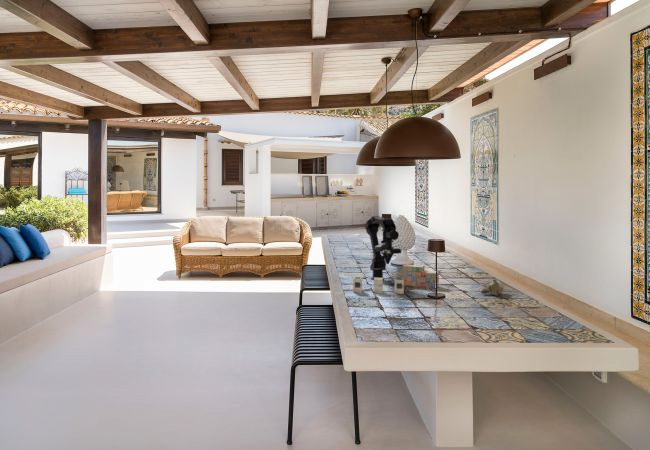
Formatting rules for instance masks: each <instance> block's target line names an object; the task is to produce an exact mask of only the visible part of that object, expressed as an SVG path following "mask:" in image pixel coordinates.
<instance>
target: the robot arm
mask: <svg viewBox="0 0 650 450" xmlns="http://www.w3.org/2000/svg"><path fill="white" fill-rule="evenodd" d="M380 227H381V228H382V229H381V232H382V240H380V243H379V239H378V232H379V228H380ZM364 228H365V230H366V234H368V236H369V238H370V243H371V248H372V249H371V250H372V255H373V257H372V259H371V264H370V266H369V267H370V271H372V277H371V278H370V279H371V280H373V281H374V278H383V280H385V278H384V277H383V276H384V273H383V272H384V271H385V270H386V266H387V265H389V264H390V261H391V259H392V258H393V256H394V255H396V254H402V249H401V248H399V247H398V248H397V247H396V248H395V247H394V246H393V243H394V241H396V240H398V238H399V236H400V235H399V233H398V231H397V226H396V224H395V221H394V219H393V218H384V217H381V216H379V215H373V216H371V217H370V218H369V219H368V220H367V221H366V223H365V225H364Z"/></svg>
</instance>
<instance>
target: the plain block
mask: <svg viewBox="0 0 650 450" xmlns="http://www.w3.org/2000/svg"><path fill="white" fill-rule="evenodd" d="M383 278H384V277H383ZM383 278H374V280H373V294H383V293H384V292H383V290H384V285H383V284H384V283H383V282H384V281H383Z"/></svg>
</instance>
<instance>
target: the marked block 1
mask: <svg viewBox="0 0 650 450" xmlns="http://www.w3.org/2000/svg"><path fill="white" fill-rule="evenodd" d="M362 292H363V277H361V276H360V277H358V276H356V277H355V276H354V277H352V293H360V294H361V293H362Z"/></svg>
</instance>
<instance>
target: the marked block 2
mask: <svg viewBox="0 0 650 450" xmlns="http://www.w3.org/2000/svg"><path fill="white" fill-rule="evenodd" d="M404 291H405V285H404V279H403V278H402V277H401V278H400V277H394V294H395V295H396V294H398V295H402V294H404V293H405V292H404Z"/></svg>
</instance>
